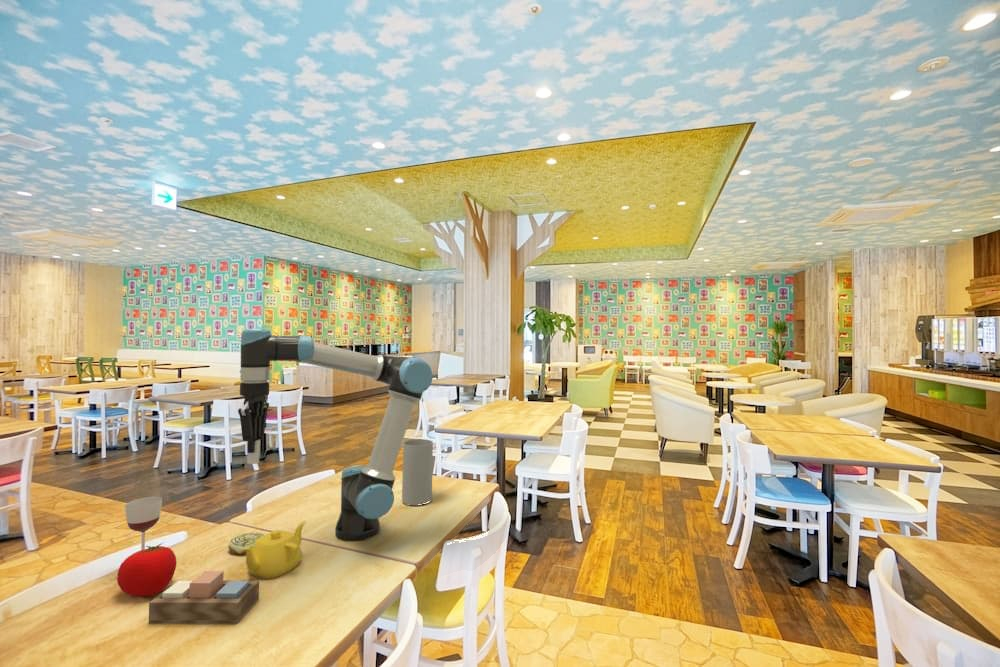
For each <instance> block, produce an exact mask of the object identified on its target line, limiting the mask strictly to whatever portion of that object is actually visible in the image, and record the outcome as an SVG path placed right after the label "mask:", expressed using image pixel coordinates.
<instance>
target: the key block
mask: <svg viewBox="0 0 1000 667" xmlns="http://www.w3.org/2000/svg"><path fill="white" fill-rule="evenodd" d="M193 580H194V579H193ZM193 580H192V579H191V580H190V579H189V580H187V579H186V580H185V579H183V580H181V579H179V580H177V581H175V582H174V583H173V584H172V585H174V584H175V583H176V582H178V581H193ZM229 581H234V580H232V579H231V580H227V579H226V580H224V579H223V587H224V586H225V585H226V584H227V583H228V582H229ZM248 581H249V587H248V588H247V589H246V590H245V591H244V592H243V593H242V594H241V595H240V596H239V597H238V598H237V599H216V593H215V594H214V595H213V596H212V597H211V598H210V599H189V594H188V595H186V596H185V597H184V598H183V599H162V593H163V592H165V591H166V590H167V589H169V588H170V587H171V586H172V585H170V586H168V587H166V588H165V589H164V590H163V591H161V592H160V594H158V595H157V596H156V597H154V598H153V599H152V600H151V601H149V602H148V624H152V625H155V624H156V625H160V624H161V625H162V624H165V625H167V624H171V625H175V624H176V625H179V624H180V625H182V624H183V625H184V624H187V625H192V624H193V625H194V624H196V625H197V624H198V625H200V624H203V625H204V624H205V625H207V624H208V625H210V624H211V625H215V624H216V625H217V624H218V625H219V624H223V625H235V624H236V625H238V624H239V622H241V621H242V619H243V618H244V617H245V616H247V614H248V613H249V611H250V610H251V609H252V608H253V607H254V606H255V605H256V603H257V602H258V601H260V580H248ZM223 587H222V588H223ZM222 588H221V589H222ZM221 589H220V590H221Z"/></svg>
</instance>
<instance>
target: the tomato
mask: <svg viewBox="0 0 1000 667" xmlns="http://www.w3.org/2000/svg"><path fill="white" fill-rule="evenodd" d="M162 544H164V542H161V543H160V544H157V545H156V546H154V545H153V546H151V545H150V546H149V545H145V547H147V548H145V549H144V550H141V549H140V550H139V551H136V552H134V553H132V554H130V555H129V556H127V557H126V558H125V559H124V560H123V561H122V562H121V564H120V566H119V567H118V572H117V578H116V580H117V585H118V587H119V588H120V591H122V592H123V593H125V594H126V595H129V596H133V597H142V598H143V597H149V596H150V597H151V596H154V595H157V594H159V593H162V592H163V591H165V590H166V589H167V588H168V587H169V585H170V583H171V581H172V579H174V578H173V577H174V575H175V572H176V568H177V556H176V554H175V552H174V550H173V549H171V547H169V546H162Z"/></svg>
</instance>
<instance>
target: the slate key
mask: <svg viewBox="0 0 1000 667" xmlns="http://www.w3.org/2000/svg"><path fill="white" fill-rule="evenodd" d="M249 581H250V580H233V581H229V582H228V583H227V584H226V585H225V586H224V587H223V588H222V589H221V590H219V591H218V592H217V593H216V599H237V598H238V597H239V596H240V595H241V594H242V593H243V592H244V591H245V590H246V589H247V588H248V587H249Z"/></svg>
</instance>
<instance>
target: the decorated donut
mask: <svg viewBox="0 0 1000 667" xmlns="http://www.w3.org/2000/svg"><path fill="white" fill-rule="evenodd" d="M264 535H265V534H263V533H260V532H247V533H243V534H239V535H237V536H235V537H232V538H231V539H230V540H229V542H228V549H229V551H230V552H231V554H234V555H243V556H244V555H245V556H246V552H245V551H244V550H242V548H245V547H249V548H251V549H252V547H253V544H254V543H255V541H256V540H257V539H258V538H260V537H262V536H264Z"/></svg>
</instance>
